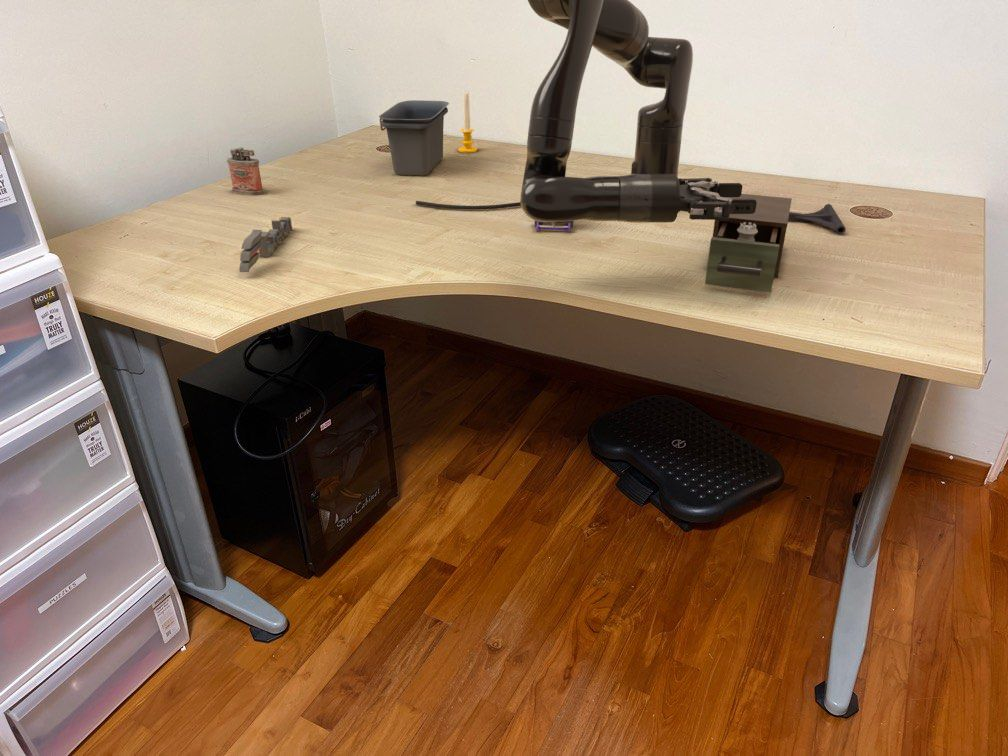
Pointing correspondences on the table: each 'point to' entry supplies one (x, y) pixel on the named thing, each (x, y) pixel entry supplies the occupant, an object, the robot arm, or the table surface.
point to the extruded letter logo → (263, 242)
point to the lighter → (245, 172)
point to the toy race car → (567, 226)
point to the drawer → (743, 259)
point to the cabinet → (763, 218)
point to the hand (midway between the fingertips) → (748, 197)
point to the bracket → (820, 218)
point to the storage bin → (415, 135)
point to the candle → (467, 127)
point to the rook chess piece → (747, 232)
